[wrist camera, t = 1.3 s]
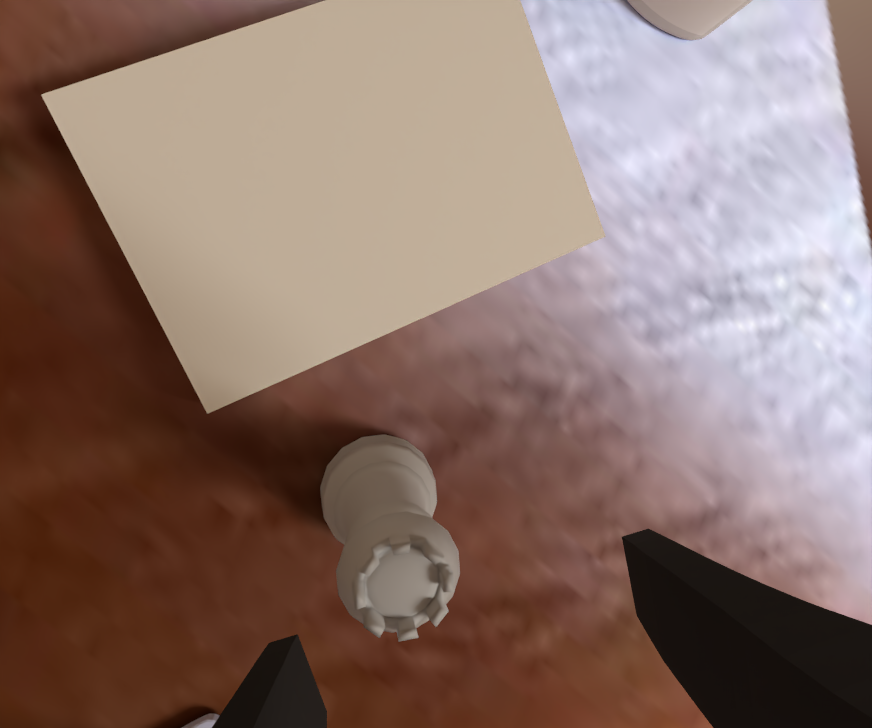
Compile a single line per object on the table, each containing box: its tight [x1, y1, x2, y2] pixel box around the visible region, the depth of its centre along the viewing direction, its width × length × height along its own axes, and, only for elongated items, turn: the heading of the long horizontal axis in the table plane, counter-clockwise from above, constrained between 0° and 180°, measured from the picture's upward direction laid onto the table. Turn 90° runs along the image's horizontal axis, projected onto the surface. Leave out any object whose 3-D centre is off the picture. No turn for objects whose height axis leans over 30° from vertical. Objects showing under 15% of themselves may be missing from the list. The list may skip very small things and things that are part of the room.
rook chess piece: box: [320, 434, 460, 641], centre depth 16 cm, size 4×4×8 cm
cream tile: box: [41, 0, 605, 414], centre depth 18 cm, size 16×11×2 cm
